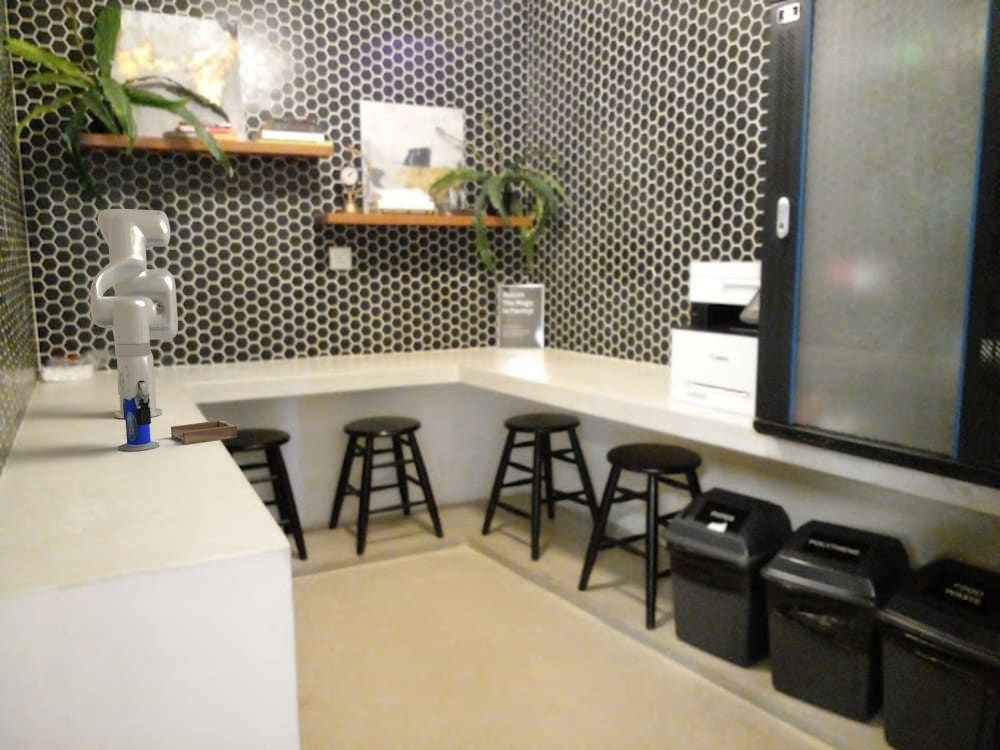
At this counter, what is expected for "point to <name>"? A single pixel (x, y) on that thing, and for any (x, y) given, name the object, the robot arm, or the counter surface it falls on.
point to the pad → (131, 449)
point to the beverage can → (135, 427)
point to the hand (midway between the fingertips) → (137, 421)
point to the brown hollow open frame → (203, 432)
